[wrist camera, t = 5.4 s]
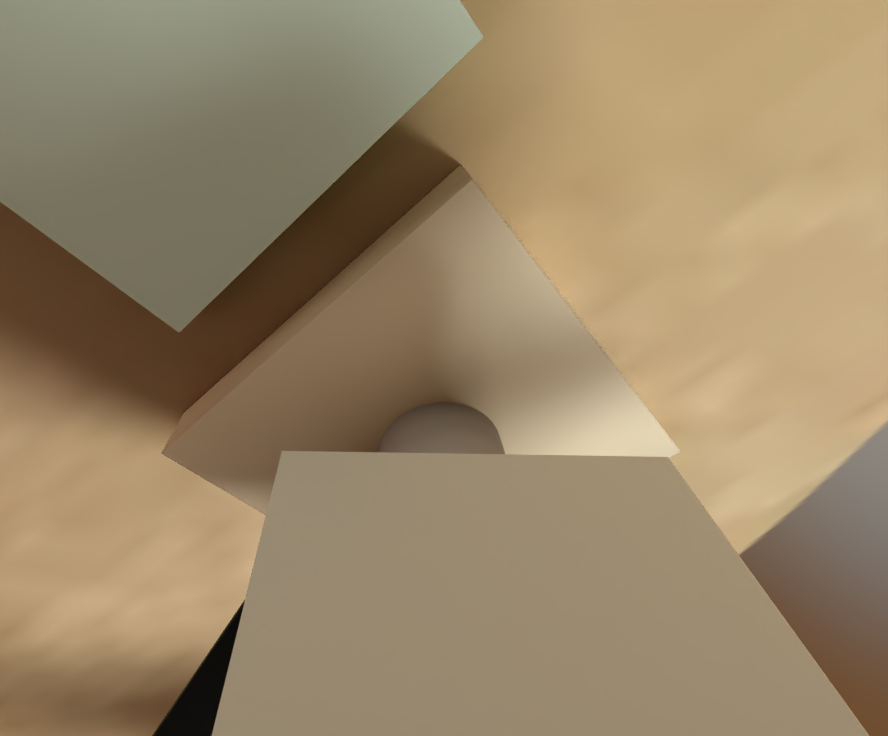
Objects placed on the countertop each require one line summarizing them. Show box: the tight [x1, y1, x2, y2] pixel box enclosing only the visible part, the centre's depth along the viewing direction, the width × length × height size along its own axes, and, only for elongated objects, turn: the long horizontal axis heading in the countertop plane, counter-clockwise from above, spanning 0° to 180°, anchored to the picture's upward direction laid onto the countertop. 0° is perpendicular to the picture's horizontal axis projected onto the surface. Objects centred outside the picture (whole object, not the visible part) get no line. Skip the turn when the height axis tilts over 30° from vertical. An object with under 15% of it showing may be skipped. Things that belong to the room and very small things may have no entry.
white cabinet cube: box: [212, 451, 869, 736], centre depth 7 cm, size 6×6×5 cm
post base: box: [162, 164, 680, 515], centre depth 11 cm, size 9×9×6 cm
